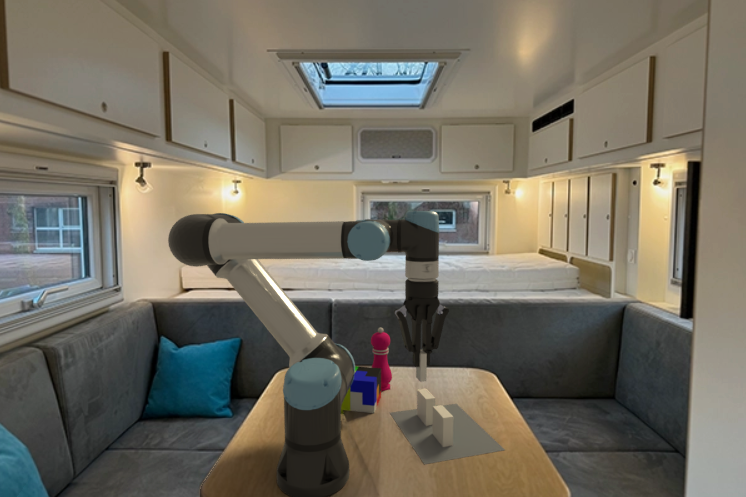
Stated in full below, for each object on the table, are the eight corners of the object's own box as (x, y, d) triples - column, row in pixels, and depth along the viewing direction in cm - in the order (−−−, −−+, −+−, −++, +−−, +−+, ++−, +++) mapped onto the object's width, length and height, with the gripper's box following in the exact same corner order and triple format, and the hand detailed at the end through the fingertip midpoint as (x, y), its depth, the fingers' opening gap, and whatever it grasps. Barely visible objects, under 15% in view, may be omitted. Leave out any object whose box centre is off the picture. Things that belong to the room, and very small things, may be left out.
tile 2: (453, 445, 97) (453, 416, 97) (442, 447, 97) (443, 418, 96) (442, 432, 103) (442, 405, 103) (432, 433, 102) (432, 406, 102)
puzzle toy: (374, 417, 113) (374, 381, 112) (338, 413, 115) (338, 378, 114) (380, 401, 123) (381, 368, 122) (348, 398, 125) (348, 365, 124)
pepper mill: (378, 383, 135) (378, 323, 133) (396, 389, 131) (397, 327, 129) (363, 390, 130) (364, 327, 128) (382, 397, 125) (382, 332, 123)
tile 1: (435, 424, 107) (435, 397, 106) (425, 425, 106) (426, 399, 106) (426, 413, 113) (426, 388, 112) (416, 414, 112) (417, 389, 111)
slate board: (505, 454, 96) (505, 450, 96) (424, 469, 90) (424, 464, 90) (456, 407, 119) (456, 403, 119) (389, 416, 113) (389, 412, 113)
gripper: (400, 282, 89) (400, 389, 91) (455, 279, 93) (454, 382, 95) (389, 277, 97) (389, 376, 99) (441, 275, 100) (440, 370, 102)
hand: (421, 379), depth 97 cm, fingers closed
